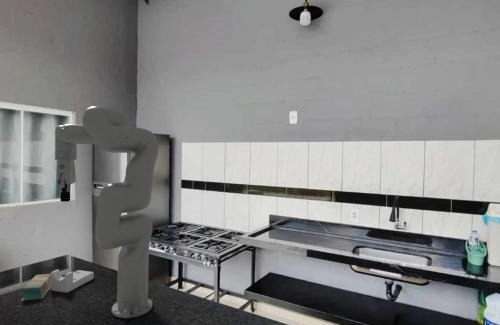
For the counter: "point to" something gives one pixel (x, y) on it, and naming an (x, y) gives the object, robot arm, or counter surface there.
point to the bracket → (69, 280)
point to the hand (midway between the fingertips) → (65, 201)
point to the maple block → (37, 287)
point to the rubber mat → (44, 293)
